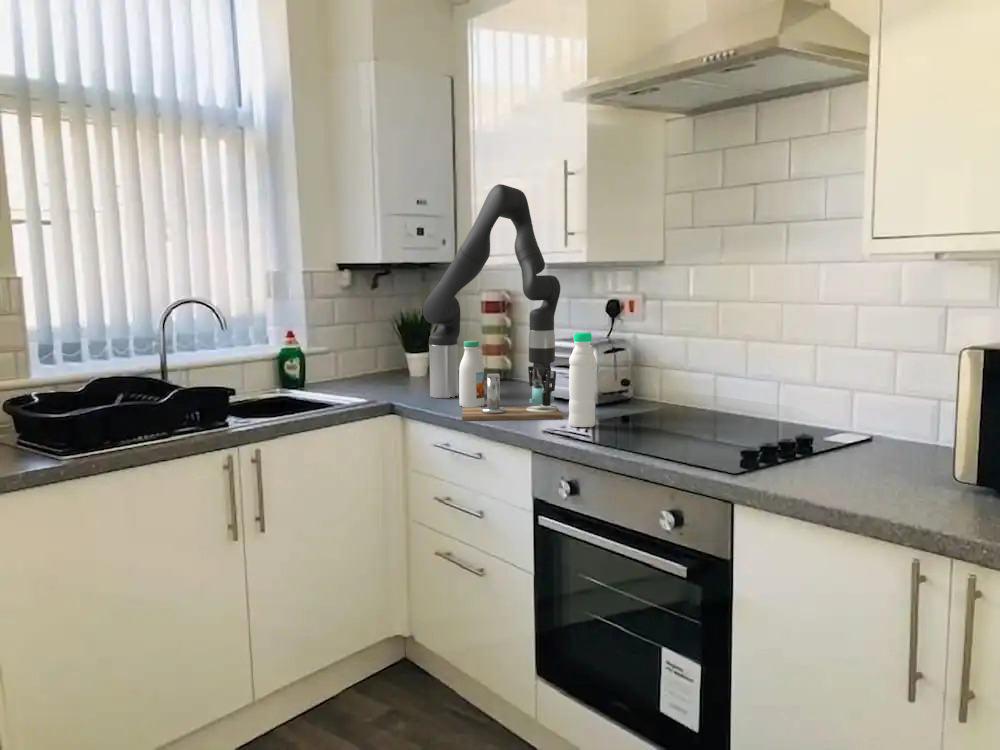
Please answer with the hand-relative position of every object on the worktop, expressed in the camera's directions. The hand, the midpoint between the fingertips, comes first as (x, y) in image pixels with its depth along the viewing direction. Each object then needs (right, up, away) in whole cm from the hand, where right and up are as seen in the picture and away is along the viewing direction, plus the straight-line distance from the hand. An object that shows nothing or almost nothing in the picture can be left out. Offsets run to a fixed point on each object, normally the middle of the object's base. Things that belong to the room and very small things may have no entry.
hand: (541, 403), depth 229 cm
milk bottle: (-21, -1, +14) cm, 25 cm away
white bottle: (+10, -6, -17) cm, 20 cm away
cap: (0, 0, 0) cm, 0 cm away
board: (-9, -3, -1) cm, 10 cm away
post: (-14, -2, -2) cm, 14 cm away
